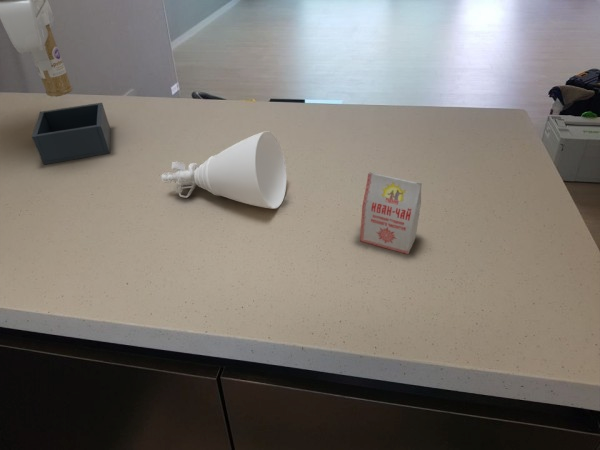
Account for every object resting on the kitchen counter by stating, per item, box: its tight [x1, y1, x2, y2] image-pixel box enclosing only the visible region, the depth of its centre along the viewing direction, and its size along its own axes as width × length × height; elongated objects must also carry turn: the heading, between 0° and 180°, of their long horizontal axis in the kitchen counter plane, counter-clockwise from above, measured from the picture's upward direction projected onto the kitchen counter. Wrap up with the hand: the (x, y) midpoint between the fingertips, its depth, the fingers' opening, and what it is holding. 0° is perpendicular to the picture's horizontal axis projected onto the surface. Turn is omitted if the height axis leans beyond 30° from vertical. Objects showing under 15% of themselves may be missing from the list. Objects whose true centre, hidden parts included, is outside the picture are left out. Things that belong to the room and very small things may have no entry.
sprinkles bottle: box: [30, 11, 73, 97], centre depth 78 cm, size 5×5×14 cm
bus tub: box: [31, 102, 111, 165], centre depth 87 cm, size 12×12×6 cm
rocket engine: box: [160, 130, 288, 210], centre depth 71 cm, size 12×12×18 cm
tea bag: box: [359, 171, 423, 255], centre depth 60 cm, size 4×7×10 cm, turn 64°
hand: (49, 64), depth 79 cm, fingers closed on sprinkles bottle, 4 cm apart
